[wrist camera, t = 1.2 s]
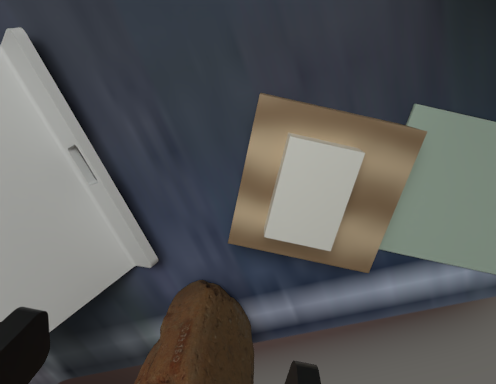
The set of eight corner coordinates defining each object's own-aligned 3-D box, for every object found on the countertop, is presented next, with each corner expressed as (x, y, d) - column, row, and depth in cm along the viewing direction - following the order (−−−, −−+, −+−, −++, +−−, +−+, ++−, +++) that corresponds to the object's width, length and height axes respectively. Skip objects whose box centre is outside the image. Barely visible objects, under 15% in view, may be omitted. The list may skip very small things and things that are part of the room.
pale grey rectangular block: (288, 132, 25) (290, 136, 23) (357, 147, 25) (365, 153, 23) (264, 226, 28) (263, 237, 26) (326, 240, 28) (330, 251, 26)
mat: (414, 103, 27) (415, 103, 27) (575, 140, 28) (578, 140, 27) (359, 243, 33) (360, 245, 32) (496, 273, 33) (498, 275, 33)
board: (260, 92, 28) (259, 93, 24) (405, 125, 28) (427, 131, 24) (232, 224, 33) (227, 243, 29) (356, 251, 33) (368, 273, 29)
